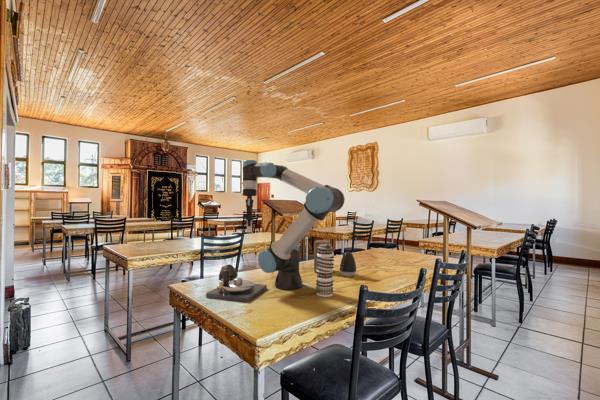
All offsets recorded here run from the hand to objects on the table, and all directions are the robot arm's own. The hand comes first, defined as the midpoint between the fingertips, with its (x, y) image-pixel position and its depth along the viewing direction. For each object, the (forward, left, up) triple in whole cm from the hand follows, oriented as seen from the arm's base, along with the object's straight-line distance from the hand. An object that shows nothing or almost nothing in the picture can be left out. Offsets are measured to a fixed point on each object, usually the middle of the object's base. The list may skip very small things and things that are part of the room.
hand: (249, 232), depth 161 cm
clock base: (0, +12, -29) cm, 32 cm away
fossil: (+19, -10, -30) cm, 37 cm away
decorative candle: (-42, 0, -30) cm, 51 cm away
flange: (+1, +13, -27) cm, 29 cm away
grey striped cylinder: (-30, -47, -30) cm, 63 cm away
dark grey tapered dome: (-48, -40, -30) cm, 69 cm away
